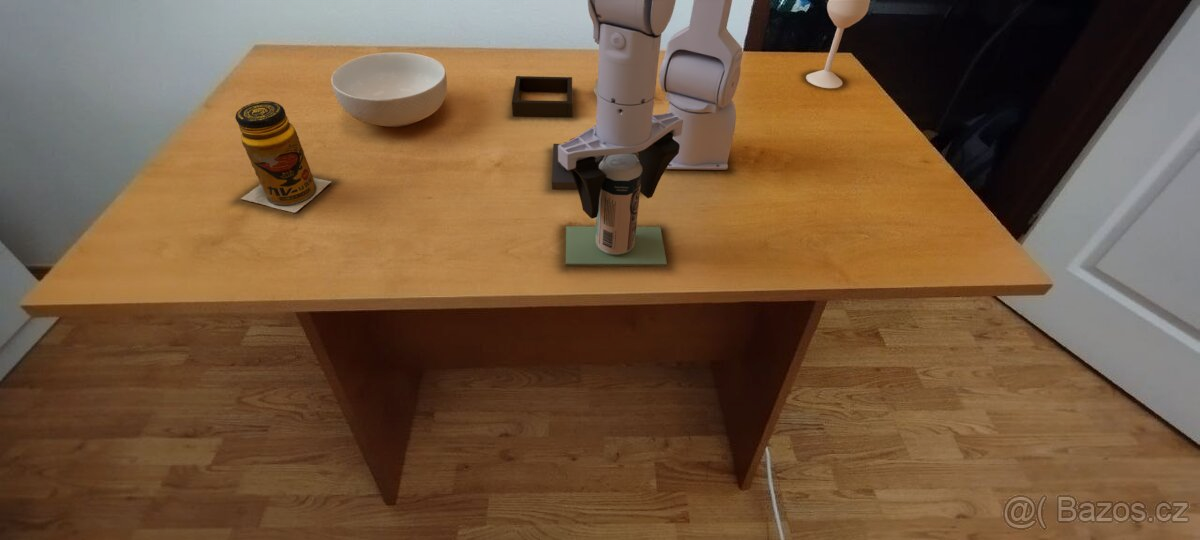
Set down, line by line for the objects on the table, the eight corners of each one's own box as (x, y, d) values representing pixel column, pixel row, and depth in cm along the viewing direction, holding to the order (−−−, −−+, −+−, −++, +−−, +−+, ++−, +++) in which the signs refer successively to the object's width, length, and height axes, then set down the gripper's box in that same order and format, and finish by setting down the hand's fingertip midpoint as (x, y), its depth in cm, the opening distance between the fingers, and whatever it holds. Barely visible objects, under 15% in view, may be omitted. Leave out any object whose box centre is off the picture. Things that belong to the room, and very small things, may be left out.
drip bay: (572, 90, 101) (572, 76, 99) (572, 117, 94) (572, 103, 92) (516, 89, 100) (516, 75, 99) (512, 116, 93) (511, 102, 92)
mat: (660, 229, 74) (660, 226, 73) (666, 266, 69) (667, 263, 68) (566, 228, 73) (566, 226, 73) (565, 266, 68) (565, 263, 68)
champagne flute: (847, 89, 106) (898, -58, 89) (810, 87, 105) (855, -60, 89) (836, 73, 110) (883, -69, 94) (801, 71, 110) (842, -71, 94)
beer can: (640, 253, 69) (649, 168, 61) (602, 260, 68) (607, 175, 60) (626, 229, 73) (633, 145, 65) (590, 235, 71) (593, 151, 63)
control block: (633, 151, 87) (634, 133, 85) (638, 190, 80) (640, 171, 78) (553, 150, 86) (553, 132, 84) (551, 189, 79) (551, 170, 77)
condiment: (296, 213, 73) (261, 129, 65) (240, 200, 75) (200, 115, 67) (332, 182, 78) (304, 100, 70) (279, 170, 80) (246, 89, 72)
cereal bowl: (415, 151, 85) (405, 107, 80) (319, 130, 88) (305, 86, 83) (470, 101, 97) (465, 60, 92) (384, 84, 100) (375, 43, 95)
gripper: (660, 62, 62) (648, 169, 72) (541, 91, 56) (545, 203, 66) (702, 88, 58) (684, 198, 67) (578, 122, 52) (577, 238, 61)
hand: (618, 203), depth 66 cm, fingers open, 7 cm apart
